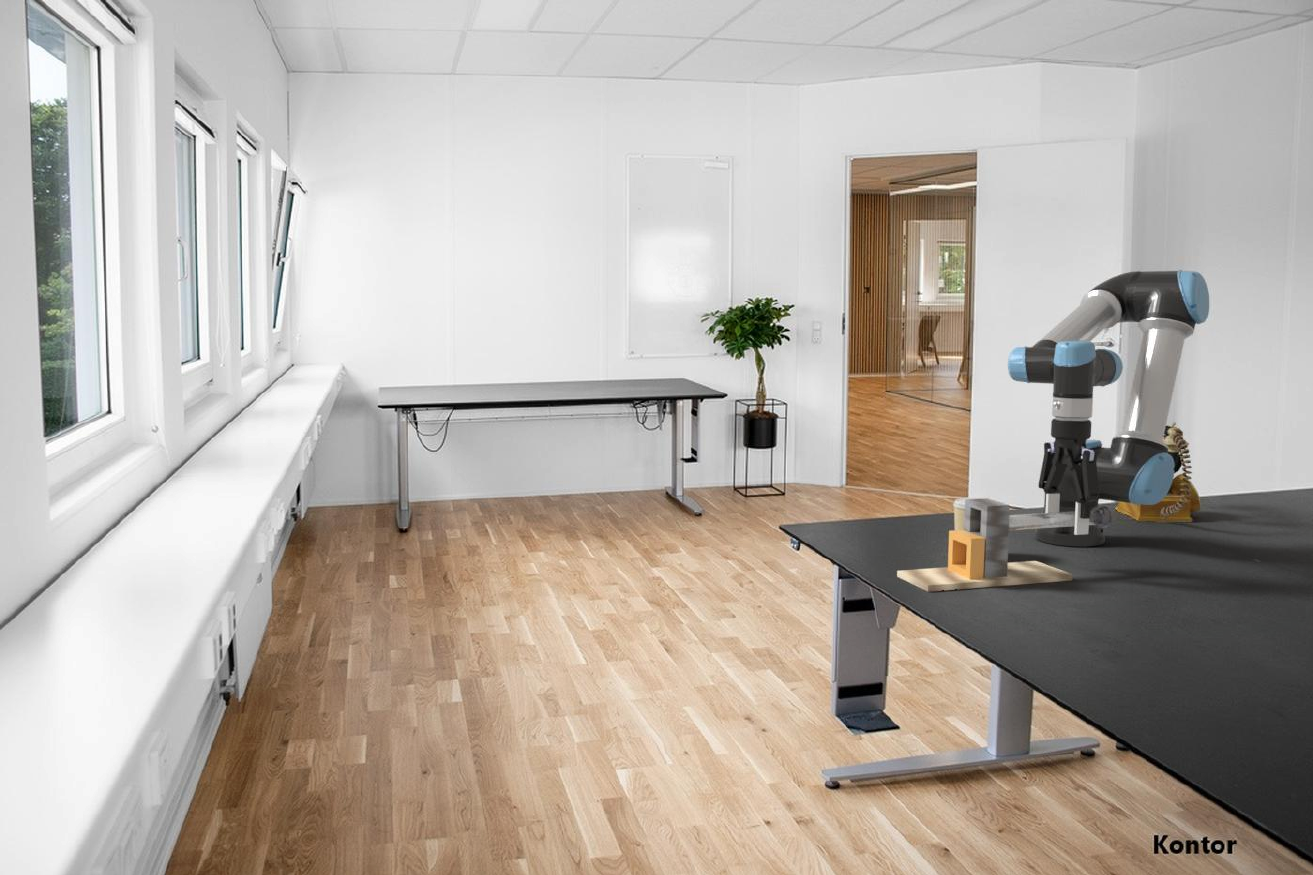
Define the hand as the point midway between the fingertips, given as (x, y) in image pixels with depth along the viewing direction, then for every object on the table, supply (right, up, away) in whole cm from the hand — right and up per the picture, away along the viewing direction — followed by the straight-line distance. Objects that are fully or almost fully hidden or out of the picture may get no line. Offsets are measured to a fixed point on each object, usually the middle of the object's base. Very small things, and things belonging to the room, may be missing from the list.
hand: (1066, 529), depth 225 cm
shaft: (-5, 0, -1) cm, 5 cm away
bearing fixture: (-18, -9, -4) cm, 21 cm away
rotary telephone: (+46, -2, +56) cm, 73 cm away
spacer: (-22, -8, -5) cm, 24 cm away
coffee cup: (-14, -7, +16) cm, 22 cm away
